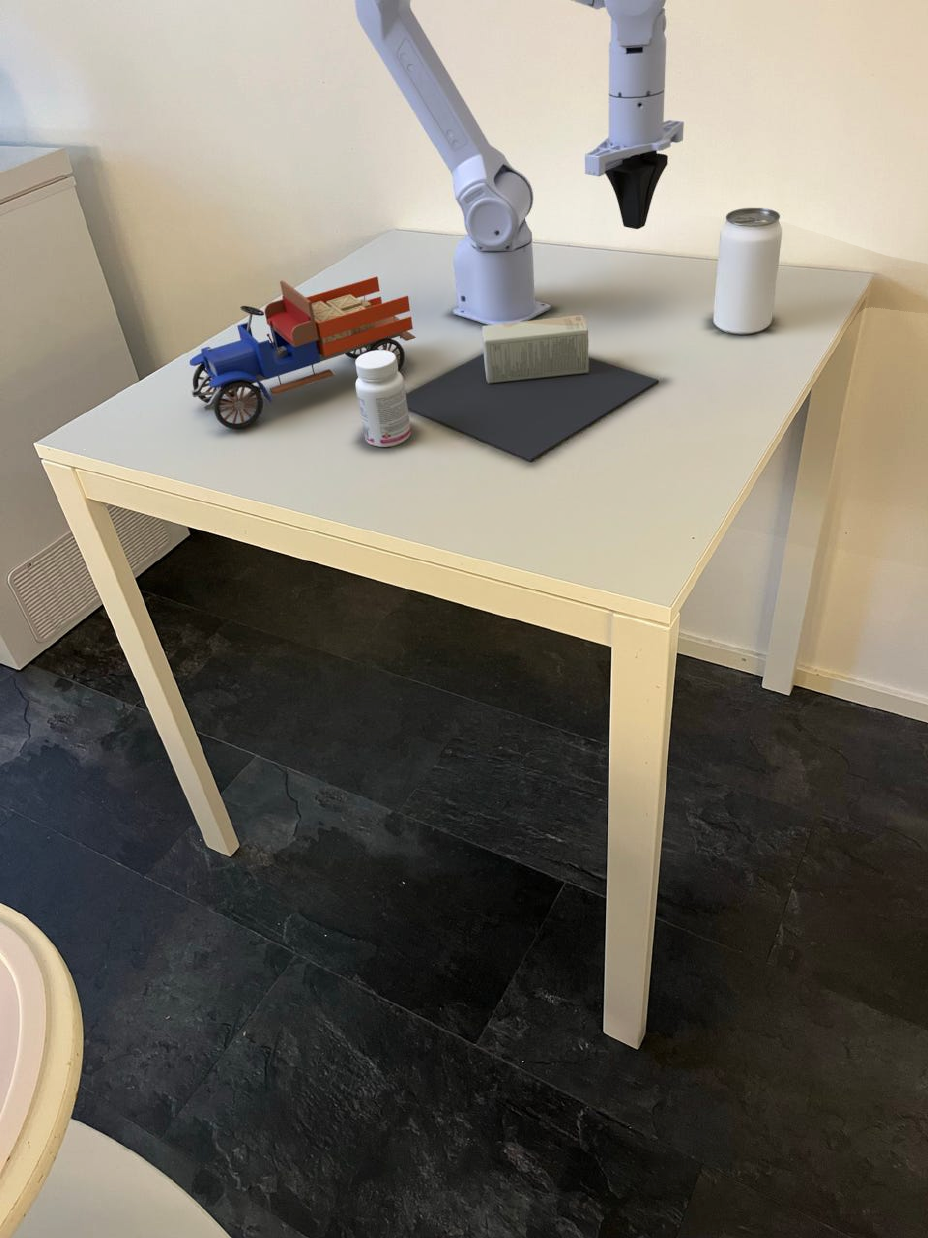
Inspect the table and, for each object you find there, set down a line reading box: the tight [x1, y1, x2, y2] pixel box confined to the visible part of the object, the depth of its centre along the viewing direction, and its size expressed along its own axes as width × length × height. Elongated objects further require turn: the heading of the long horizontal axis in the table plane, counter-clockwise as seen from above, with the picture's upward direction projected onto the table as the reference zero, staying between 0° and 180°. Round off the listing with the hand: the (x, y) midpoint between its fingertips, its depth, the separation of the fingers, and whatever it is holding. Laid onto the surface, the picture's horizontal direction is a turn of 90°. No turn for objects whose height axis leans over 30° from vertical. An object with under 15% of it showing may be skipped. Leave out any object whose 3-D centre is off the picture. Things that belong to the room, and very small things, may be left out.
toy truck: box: [189, 276, 416, 430], centre depth 104 cm, size 8×25×11 cm, turn 120°
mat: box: [406, 353, 660, 463], centre depth 102 cm, size 20×20×1 cm
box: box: [481, 314, 590, 384], centre depth 103 cm, size 5×4×11 cm
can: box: [712, 207, 783, 336], centre depth 106 cm, size 6×6×12 cm
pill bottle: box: [354, 349, 412, 448], centre depth 95 cm, size 5×5×8 cm
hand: (634, 225), depth 108 cm, fingers closed
